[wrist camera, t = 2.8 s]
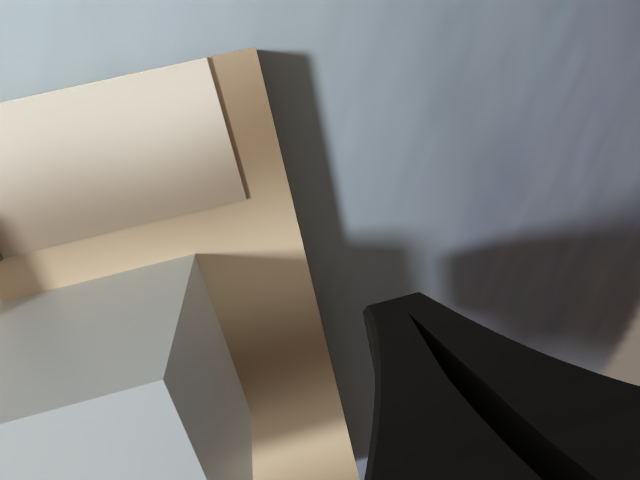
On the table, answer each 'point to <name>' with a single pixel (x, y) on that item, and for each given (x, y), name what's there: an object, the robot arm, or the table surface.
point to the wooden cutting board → (181, 229)
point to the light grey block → (121, 382)
